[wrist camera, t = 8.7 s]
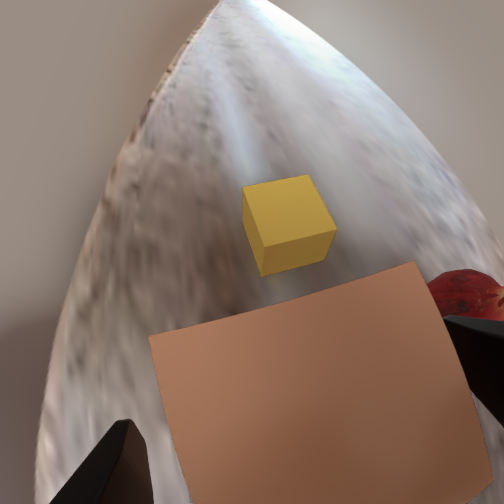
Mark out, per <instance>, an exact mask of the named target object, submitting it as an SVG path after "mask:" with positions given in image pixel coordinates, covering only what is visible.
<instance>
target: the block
mask: <svg viewBox="0 0 504 504" xmlns="http://www.w3.org/2000/svg"><path fill="white" fill-rule="evenodd" d="M242 217H243V225H244V228H245V231H246V234H247V237H248V240H249V243H250V246H251V249H252V252H253V254H254V257H255V260H256V263H257V266H258V269H259V272H260V275H261V277H264V276H267V275H271V274H275V273H279V272H283V271H286V270H290V269H294V268H297V267H301V266H305V265H309V264H312V263H316V262H320V261H323V260H324V259H325V257H326V255H327V252H328V250H329V248H330V246H331V243H332V241H333V239H334V236H335V234H336V232H337V227H336V225H335V223H334V221H333V219H332V217H331V215H330V213H329V211H328V209H327V207H326V206H325V204H324V202H323V200H322V198H321V196H320V194H319V192H318V191H317V189H316V187H315V185H314V183H313V181H312V180H311V178H310V176H309V174H308V175H302V176H297V177H291V178H286V179H281V180H275V181H270V182H265V183H260V184H255V185H250V186H245V187H242Z"/></svg>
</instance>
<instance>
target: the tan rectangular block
mask: <svg viewBox="0 0 504 504" xmlns="http://www.w3.org/2000/svg"><path fill="white" fill-rule="evenodd" d="M148 337H149V342H150V348H151V353H152V358H153V363H154V367H155V372H156V376H157V381H158V385H159V390H160V394H161V398H162V402H163V406H164V410H165V414H166V418H167V422H168V425H169V429H170V433H171V436H172V440H173V443H174V446H175V450H176V453H177V456H178V460H179V463H180V466H181V469H182V472H183V475H184V478H185V481H186V484H187V487H188V490H189V493H190V496H191V498H192V501H193V504H467V503H468V502H469V501H471V500H472V499H473V498H474V497H476V496H477V495H478V494H479V493H480V492H482V491H483V490H484V489H485V488H486V487H488V486H489V485H490V484H491V483H492V482H493V481H494V480H493V475H492V470H491V465H490V460H489V456H488V451H487V447H486V443H485V439H484V435H483V432H482V428H481V424H480V421H479V417H478V414H477V411H476V407H475V404H474V401H473V398H472V395H471V392H470V389H469V386H468V383H467V380H466V377H465V374H464V371H463V369H462V366H461V363H460V361H459V358H458V355H457V353H456V350H455V348H454V345H453V343H452V340H451V338H450V335H449V333H448V331H447V328H446V326H445V324H444V321H443V319H442V317H441V315H440V312H439V310H438V308H437V306H436V304H435V301H434V299H433V297H432V295H431V293H430V291H429V289H428V287H427V285H426V283H425V281H424V279H423V277H422V275H421V273H420V271H419V269H418V267H417V265H416V263H415V261H414V260H413V261H410V262H407V263H405V264H402V265H399V266H396V267H393V268H390V269H387V270H384V271H381V272H378V273H375V274H372V275H369V276H366V277H363V278H360V279H357V280H354V281H350V282H347V283H344V284H341V285H338V286H335V287H331V288H328V289H325V290H322V291H318V292H315V293H312V294H308V295H305V296H302V297H298V298H295V299H291V300H288V301H284V302H281V303H277V304H274V305H270V306H267V307H263V308H259V309H256V310H252V311H248V312H245V313H241V314H237V315H233V316H229V317H226V318H222V319H218V320H214V321H210V322H206V323H202V324H198V325H194V326H190V327H185V328H181V329H177V330H173V331H168V332H164V333H160V334H155V335H151V336H148Z"/></svg>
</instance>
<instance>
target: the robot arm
mask: <svg viewBox="0 0 504 504" xmlns="http://www.w3.org/2000/svg"><path fill="white" fill-rule="evenodd" d="M442 319H443V321H444V324H445V326H446V328H447V331H448V333H449V335H450V338H451V340H452V343H453V345H454V348H455V350H456V353H457V355H458V358H459V361H460V363H461V366H462V369H463V371H464V374H465V377H466V380H467V383H468V386H469V389H470V390H471V391H472V392H473V393H474V395H475V396H476V397H477V398H478V399H479V400H480V401H481V402H482V403H483V405H484V406H485V407H486V408H487V409H488V410H489V411H490V413H491V414H492V415H493V416H494V417H495V418H496V419H497V421H498V422H499V423H500V424H501V425H502V426H503V428H504V321H498V320H489V319H481V318H472V317H464V316H456V315H448V316H446V317H444V318H442ZM49 504H154V500H153V490H152V483H151V476H150V470H149V463H148V455H147V447H146V443H145V440H144V438H143V437H142V435H141V433H140V432H139V430H138V428H137V427H136V425H135V423H134V422H133V421H132V420H131V419H124V420H118V421H116V422H115V423H114V424H113V425H112V426H111V428H110V429H109V430H108V431H107V433H106V434H105V435H104V436H103V438H102V439H101V440H100V441H99V442H98V444H97V445H96V446H95V447H94V449H93V450H92V451H91V452H90V454H89V455H88V456H87V457H86V459H85V460H84V461H83V462H82V464H81V465H80V466H79V467H78V468H77V470H76V471H75V472H74V473H73V475H72V476H71V477H70V478H69V480H68V481H67V482H66V483H65V485H64V486H63V487H62V488H61V490H60V491H59V492H58V493H57V495H56V496H55V497H54V498H53V499H52V501H51V502H50V503H49Z"/></svg>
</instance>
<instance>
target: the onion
mask: <svg viewBox="0 0 504 504" xmlns="http://www.w3.org/2000/svg"><path fill="white" fill-rule="evenodd" d="M426 285H427V287H428V289H429V291H430V293H431V295H432V297H433V299H434V301H435V304H436V306H437V308H438V310H439V312H440V315H441V317H442V318H444V317H446V316H448V315H456V316H464V317H472V318H481V319H489V320H498V321H504V287H502V286H501V285H500V284H499V283H497V282H496V281H495V280H494V279H493V278H492V277H490V276H489V275H486V274H484V273H481V272H478V271H475V270H472V269H463V270H455V271H449V272H444V273H443V274H441V275H440V276H438V277H436V278H435V279H434V280H432V281H431V282H429V283H428V284H426Z"/></svg>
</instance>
